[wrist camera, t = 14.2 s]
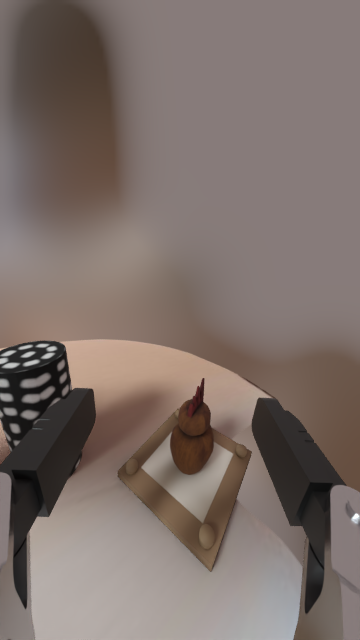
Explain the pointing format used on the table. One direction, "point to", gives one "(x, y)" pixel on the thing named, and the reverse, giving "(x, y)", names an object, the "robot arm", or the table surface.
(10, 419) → the spotted tube
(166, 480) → the base plate
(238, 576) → the table surface
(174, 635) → the table surface
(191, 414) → the wooden figurine
